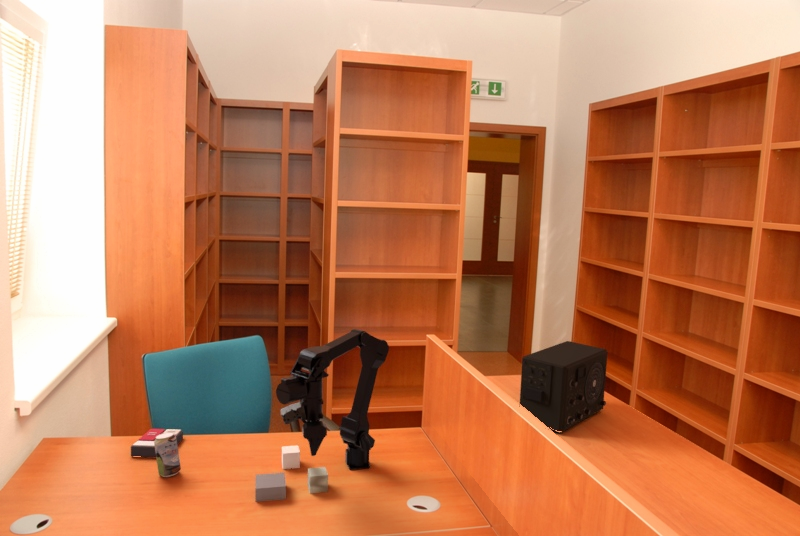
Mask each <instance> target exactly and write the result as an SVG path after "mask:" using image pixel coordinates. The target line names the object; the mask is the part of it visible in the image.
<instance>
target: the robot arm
mask: <svg viewBox="0 0 800 536" xmlns="http://www.w3.org/2000/svg"><path fill="white" fill-rule="evenodd" d="M357 347H358V348H359V357H360V362H361V369H360V372H359V377H358V381H357V385H356V389H355V393H354V397H353V402H352V405H351V409H350V412H349V413H348V414H347V415H346V416H345V415H343V416H342V418H341V424H340V426H339V428H338V430H339V437H341V439H342V442H343V444H346V445H347V448H345V454H344V455H345V457H344V458H345V464H346V466H348V469H349V470H359V469H360V470H361V469H369V468H371V464H370V450H371V449H372V448H374V446H375V442H376V439H375V438H373V436H371V435H370V423H369V418H368V411H369V409H370V404H371V399H372V394H373V392H374V388H375V383H376V379H377V375H378V370H379V368H380V367H381V366H382V365H383V364H384V363H385V362H386V359H387V357H388V354H389V351H390V345H389V344H388V341H386V340H384V339H380V338H377V337H375V336H374V335H372V334H369V333H368V332H367V331H365V330H361V329H357V328H354V329H351V330H350V331H349V332H347V333H345V334H343V335H341V336H339V337H337V338H336V339H334V340H332V341H329V342H328V343H326V344H324V345H319V346H317V345H316V346H311V347H307V348H304V349H302V350H301V351H300V352H299V356H298V357H297V359H296V361H295V363H294V365H293V367H292V368H291V371H290V372H289V374H290V376H289V377H282V378H281V379H280V382H279V384H278V385H277V386H276V390H275V394H276V398H277V400H278V402H279V403H280V404H281V405H287V406H284V407H282V408H281V409H280V410H279V411H280V416H281V418H282V421H283V423H284V425H286V426H287V425H289V424H291V423H292V422H294V421H295V422H296V421H298V420H300V421H301V422H302V423H303V424H302V425H301V427H302V430H301V431H302V437H303V438H304V439H306V440H307V442H308V445H309V450H310V456H311V457H315V456H316V455H317V453H318V451H319V448H320V447H321V445H322V443H323V440H324V439H325V438H326V436H328V434H327V433H328V428H327V425H326V422H324V421H323V420H320V419H324V414H323V405H324V400H323V399H324V398H323V379H325V378H327V377H329V373H327V372H326V369H328V367H330V365H331V364H332V362H333V361H334V360H335V359H337V358H339V357H340V356H343V355H345V354H346V353H348V352H350V351H352V350H353V349H356V348H357ZM303 370H304V371H303ZM307 371H308V372H307ZM297 401H298V402H297ZM294 402H296V403H294ZM291 403H292V404H291ZM288 404H289V405H288Z"/></svg>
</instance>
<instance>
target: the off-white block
mask: <svg viewBox="0 0 800 536" xmlns="http://www.w3.org/2000/svg"><path fill="white" fill-rule="evenodd" d="M300 466H301V451H300V447H299V445H285V446H281V467H282V470H292V469H301V467H300ZM291 468H292V469H291Z"/></svg>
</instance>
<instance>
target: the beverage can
mask: <svg viewBox="0 0 800 536" xmlns="http://www.w3.org/2000/svg"><path fill="white" fill-rule="evenodd" d="M154 445H155V452H156V458H155V459H156V463H157V470H158V475H159V476H161V477H162V478H170V477H173V476H175V475H177V474H179V472H180V471H181V469H182V467H181V461H180V460H181V459H180V454H179V448H178V447H179V446H178V445H177V439H176V436H175V435H174V433H172V432H168V433H163V434H160V435H158V436H156V439H155V441H154Z"/></svg>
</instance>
